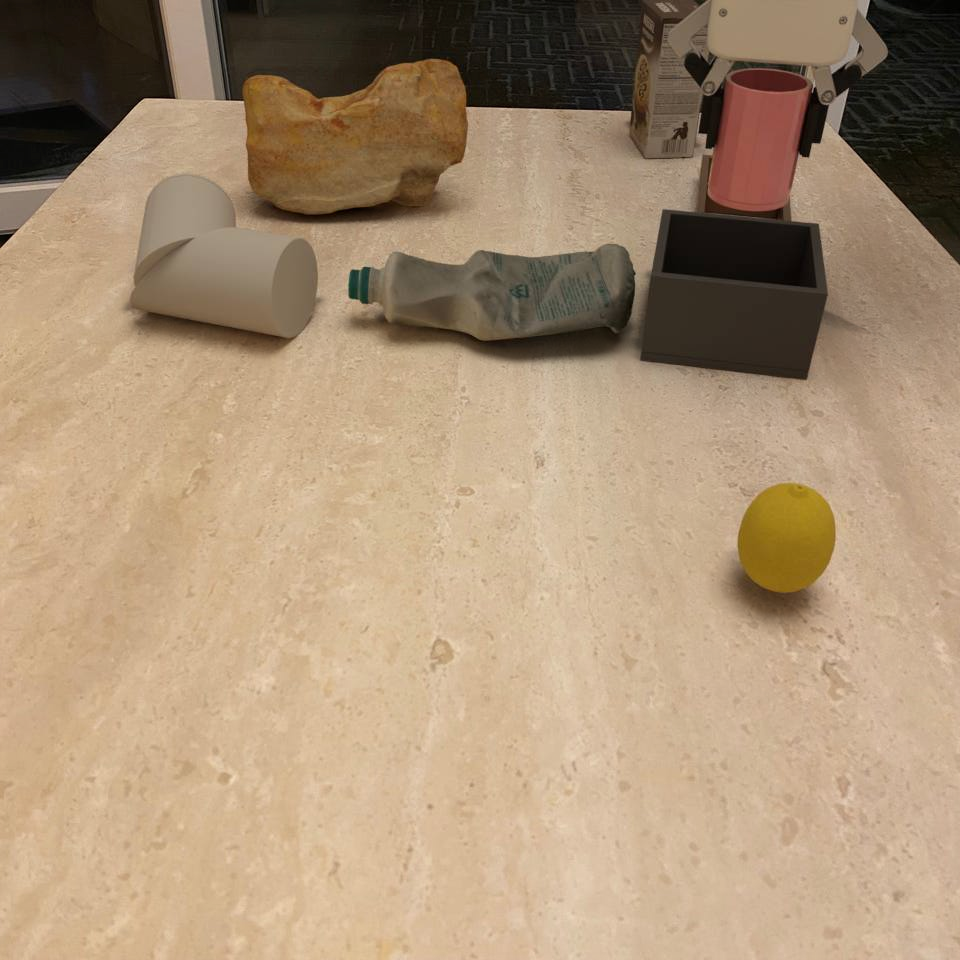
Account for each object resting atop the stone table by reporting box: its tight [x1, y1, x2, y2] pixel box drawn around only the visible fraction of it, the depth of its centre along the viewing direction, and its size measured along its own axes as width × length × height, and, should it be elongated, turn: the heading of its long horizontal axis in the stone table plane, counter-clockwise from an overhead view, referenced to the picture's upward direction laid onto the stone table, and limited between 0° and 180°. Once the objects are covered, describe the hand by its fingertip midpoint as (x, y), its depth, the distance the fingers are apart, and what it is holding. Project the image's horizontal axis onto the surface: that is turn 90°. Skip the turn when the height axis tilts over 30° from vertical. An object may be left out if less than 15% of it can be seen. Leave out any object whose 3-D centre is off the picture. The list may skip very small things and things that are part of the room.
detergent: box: [347, 243, 637, 342], centre depth 87 cm, size 13×7×25 cm
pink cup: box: [708, 67, 814, 211], centre depth 78 cm, size 6×6×9 cm
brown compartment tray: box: [694, 154, 793, 221], centre depth 108 cm, size 9×18×3 cm, turn 168°
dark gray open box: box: [640, 208, 829, 380], centre depth 86 cm, size 14×14×8 cm
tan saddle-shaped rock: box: [242, 58, 469, 215], centre depth 108 cm, size 23×17×15 cm
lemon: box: [737, 482, 837, 594], centre depth 60 cm, size 6×6×8 cm
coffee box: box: [628, 0, 710, 159], centre depth 120 cm, size 9×6×16 cm
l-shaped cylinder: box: [129, 172, 319, 339], centre depth 89 cm, size 18×11×20 cm
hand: (756, 145), depth 78 cm, fingers closed on pink cup, 6 cm apart
